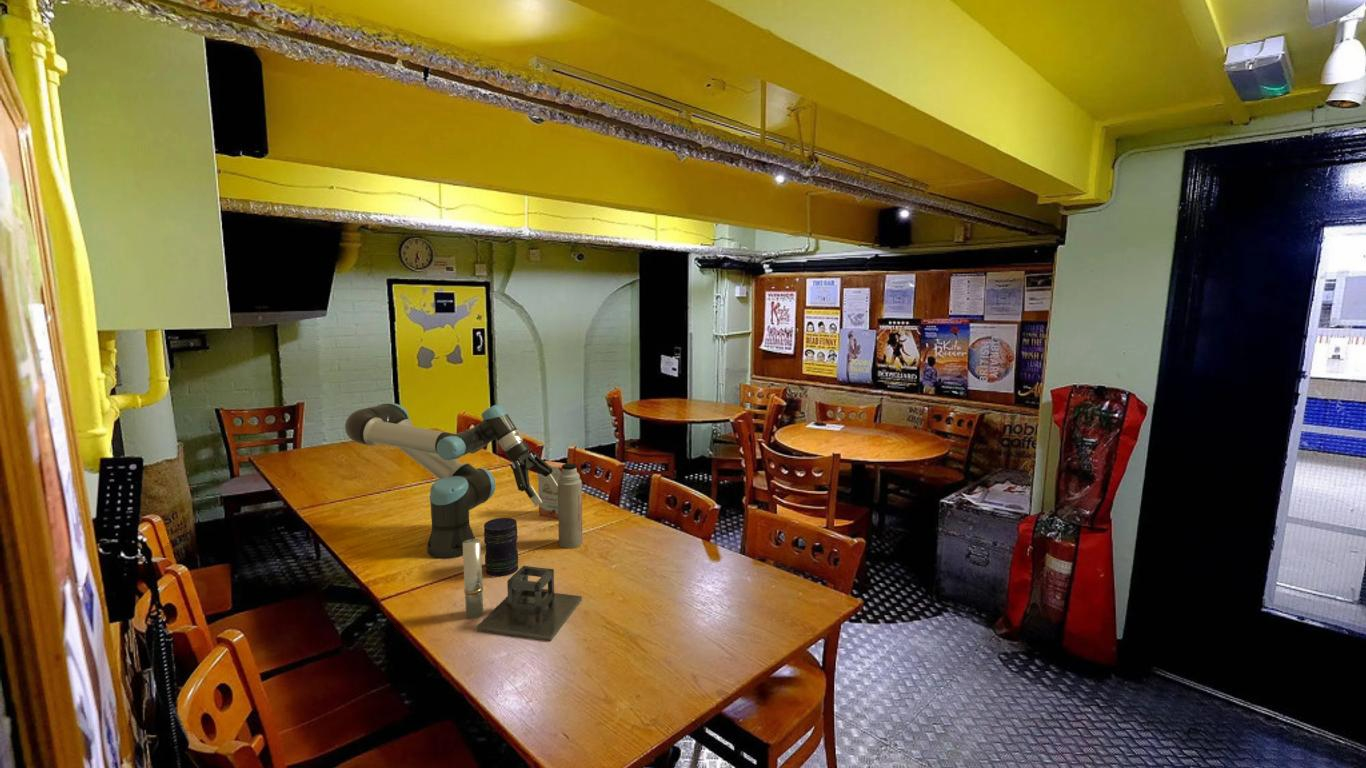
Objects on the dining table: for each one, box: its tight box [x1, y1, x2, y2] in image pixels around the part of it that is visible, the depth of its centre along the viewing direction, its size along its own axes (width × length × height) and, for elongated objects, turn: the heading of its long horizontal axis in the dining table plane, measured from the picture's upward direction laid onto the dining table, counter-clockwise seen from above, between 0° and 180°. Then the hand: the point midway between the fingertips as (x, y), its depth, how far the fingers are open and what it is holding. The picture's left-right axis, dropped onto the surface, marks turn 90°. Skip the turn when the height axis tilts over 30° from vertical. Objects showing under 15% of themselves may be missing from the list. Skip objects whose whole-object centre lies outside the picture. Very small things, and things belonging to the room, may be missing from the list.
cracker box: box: [537, 460, 566, 520], centre depth 221 cm, size 14×6×21 cm, turn 68°
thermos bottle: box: [558, 463, 583, 549], centre depth 195 cm, size 8×8×28 cm
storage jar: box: [483, 517, 519, 578], centre depth 177 cm, size 10×10×15 cm
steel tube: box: [462, 538, 484, 619], centre depth 151 cm, size 5×5×20 cm
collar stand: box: [476, 565, 583, 642], centre depth 151 cm, size 20×20×11 cm
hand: (548, 497), depth 196 cm, fingers open, 13 cm apart
